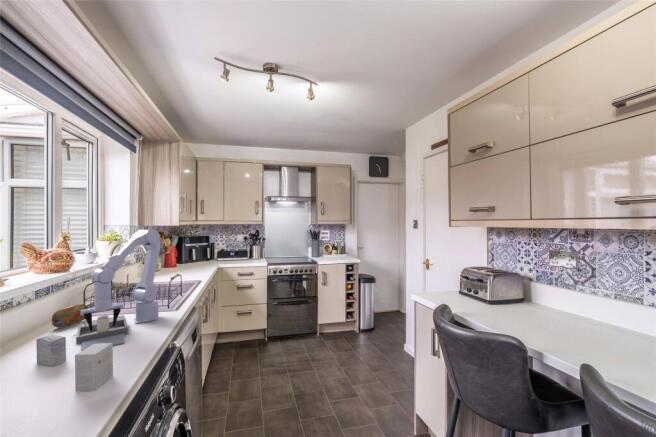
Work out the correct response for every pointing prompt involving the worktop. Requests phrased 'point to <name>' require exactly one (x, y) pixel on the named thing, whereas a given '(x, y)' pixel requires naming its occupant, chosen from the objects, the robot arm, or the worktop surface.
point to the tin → (68, 316)
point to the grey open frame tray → (85, 328)
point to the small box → (93, 366)
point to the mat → (104, 341)
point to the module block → (102, 323)
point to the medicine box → (51, 350)
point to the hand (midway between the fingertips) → (102, 328)
